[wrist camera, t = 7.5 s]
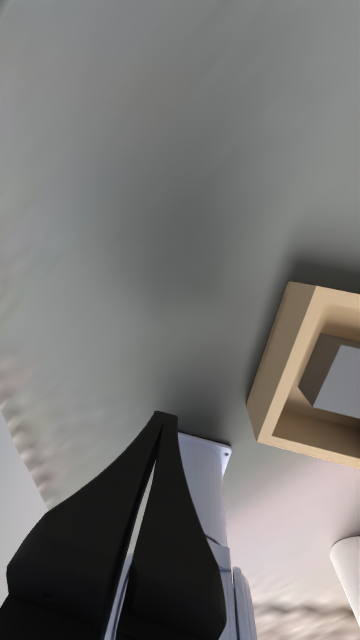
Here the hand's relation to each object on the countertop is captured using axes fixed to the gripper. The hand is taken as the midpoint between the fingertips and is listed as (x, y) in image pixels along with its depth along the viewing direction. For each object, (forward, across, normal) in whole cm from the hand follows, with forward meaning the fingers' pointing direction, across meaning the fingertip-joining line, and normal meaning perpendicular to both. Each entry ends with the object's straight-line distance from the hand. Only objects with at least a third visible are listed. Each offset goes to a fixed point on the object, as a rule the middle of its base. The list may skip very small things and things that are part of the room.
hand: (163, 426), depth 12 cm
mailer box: (+10, -16, -2) cm, 19 cm away
